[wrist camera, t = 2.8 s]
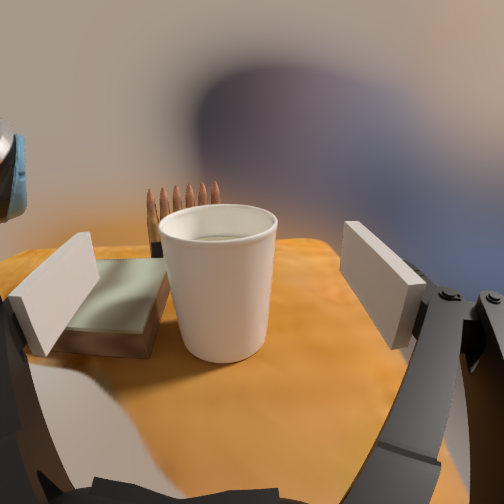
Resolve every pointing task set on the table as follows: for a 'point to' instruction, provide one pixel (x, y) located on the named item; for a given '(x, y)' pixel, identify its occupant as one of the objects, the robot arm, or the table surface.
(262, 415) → the table surface
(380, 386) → the table surface
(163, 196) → the ammunition clip
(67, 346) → the stand
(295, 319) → the table surface
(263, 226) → the white cup
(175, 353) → the table surface
